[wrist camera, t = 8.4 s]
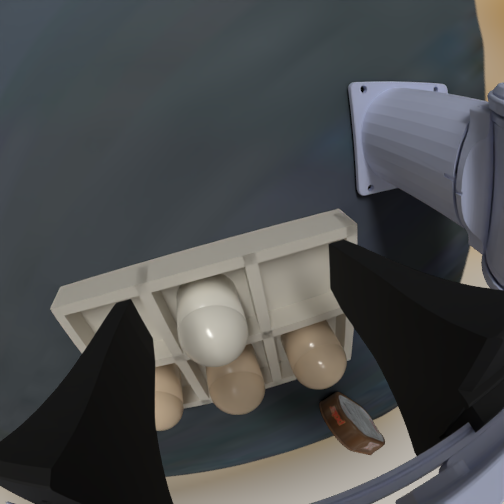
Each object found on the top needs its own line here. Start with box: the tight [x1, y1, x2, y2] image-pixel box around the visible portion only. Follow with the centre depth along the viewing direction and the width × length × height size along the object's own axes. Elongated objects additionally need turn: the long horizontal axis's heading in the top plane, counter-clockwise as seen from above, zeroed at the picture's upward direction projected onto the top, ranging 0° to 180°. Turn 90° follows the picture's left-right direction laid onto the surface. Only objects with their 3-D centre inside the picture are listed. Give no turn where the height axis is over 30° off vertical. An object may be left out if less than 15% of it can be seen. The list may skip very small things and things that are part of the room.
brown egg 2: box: [280, 320, 347, 389], centre depth 23 cm, size 4×4×6 cm
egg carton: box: [50, 209, 357, 408], centre depth 22 cm, size 21×14×3 cm
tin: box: [319, 392, 385, 455], centre depth 33 cm, size 15×3×8 cm, turn 38°
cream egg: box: [176, 274, 248, 367], centre depth 19 cm, size 4×4×6 cm
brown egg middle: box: [205, 344, 265, 415], centre depth 22 cm, size 4×4×6 cm
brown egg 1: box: [155, 363, 184, 431], centre depth 22 cm, size 4×4×6 cm
